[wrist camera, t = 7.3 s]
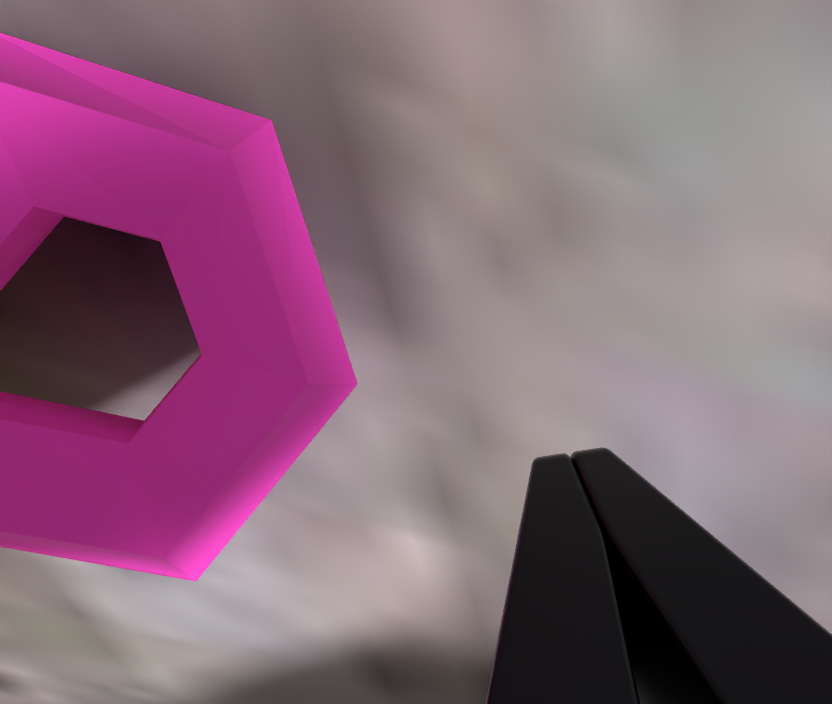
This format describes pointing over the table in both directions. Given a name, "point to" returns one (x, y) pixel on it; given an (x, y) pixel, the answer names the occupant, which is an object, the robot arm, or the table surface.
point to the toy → (204, 303)
